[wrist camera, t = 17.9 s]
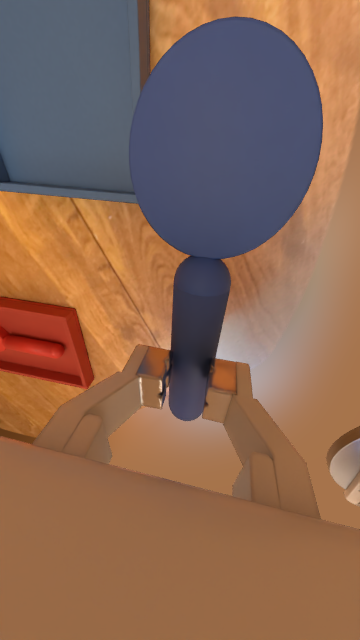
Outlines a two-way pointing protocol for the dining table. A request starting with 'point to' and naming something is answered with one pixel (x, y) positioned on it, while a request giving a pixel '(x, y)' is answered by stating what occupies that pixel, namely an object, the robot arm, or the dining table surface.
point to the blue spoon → (220, 169)
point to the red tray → (46, 327)
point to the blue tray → (70, 95)
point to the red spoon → (29, 345)
